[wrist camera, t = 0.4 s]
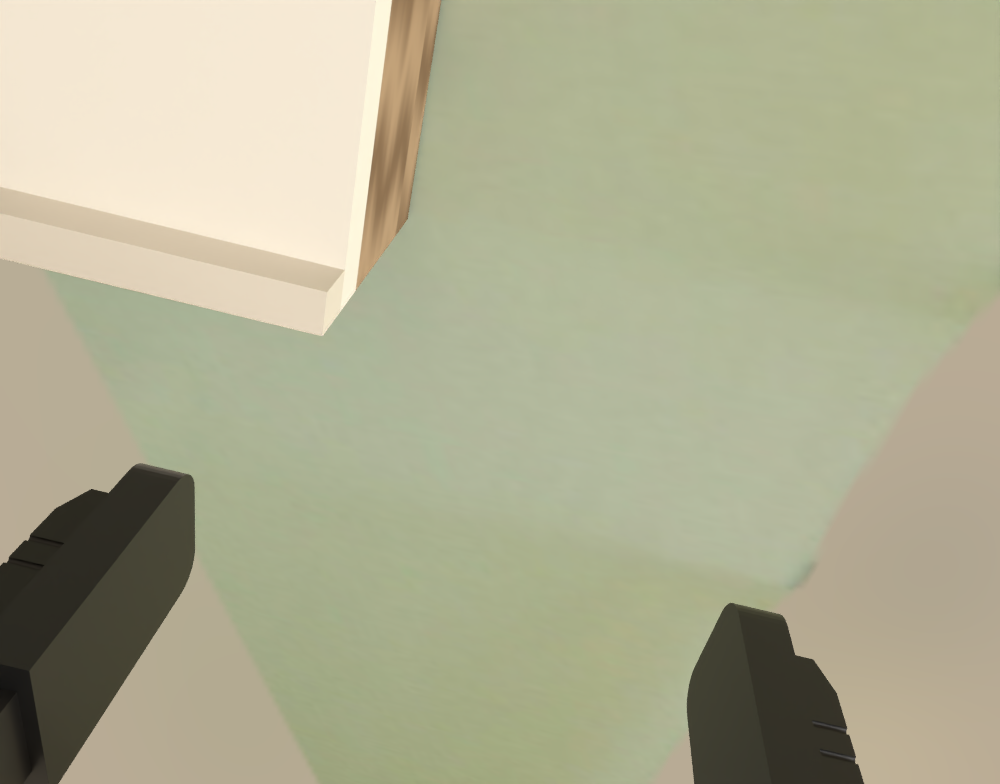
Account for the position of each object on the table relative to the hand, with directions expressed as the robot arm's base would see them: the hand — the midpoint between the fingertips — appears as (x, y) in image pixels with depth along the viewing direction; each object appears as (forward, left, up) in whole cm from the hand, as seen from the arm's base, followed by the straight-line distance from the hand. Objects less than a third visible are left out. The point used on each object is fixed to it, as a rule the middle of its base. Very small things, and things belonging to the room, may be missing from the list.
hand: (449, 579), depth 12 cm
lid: (-1, -12, -18) cm, 22 cm away
